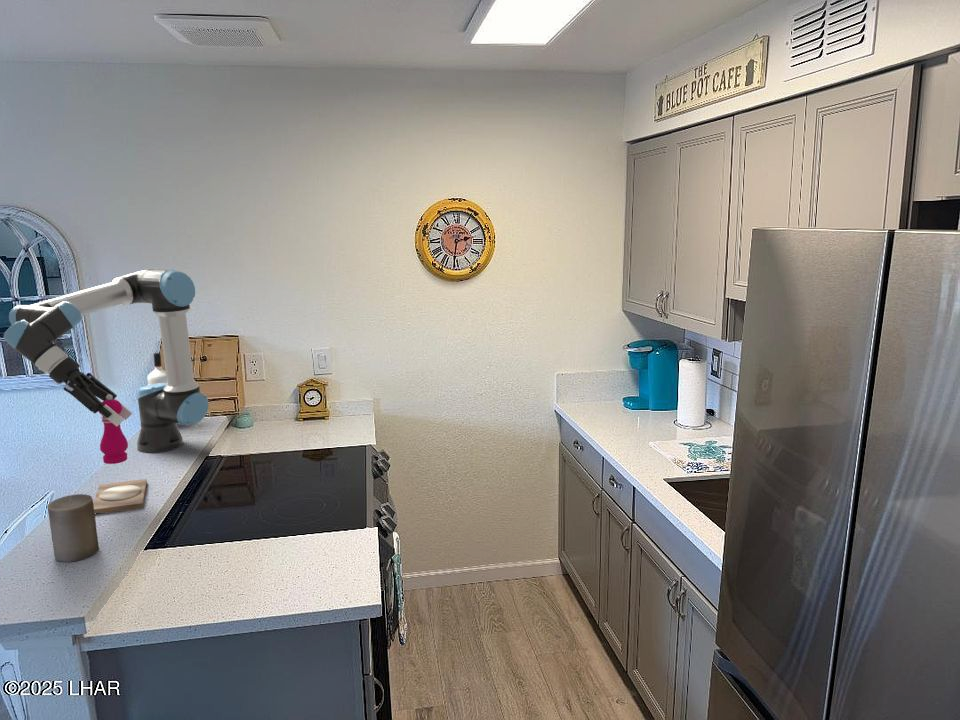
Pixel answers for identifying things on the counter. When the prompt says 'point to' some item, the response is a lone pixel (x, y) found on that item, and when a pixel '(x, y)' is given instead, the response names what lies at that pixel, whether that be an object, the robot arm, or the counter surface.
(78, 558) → the pillar candle
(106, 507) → the tan wooden flat board
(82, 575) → the counter surface
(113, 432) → the pepper mill
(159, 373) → the vodka
